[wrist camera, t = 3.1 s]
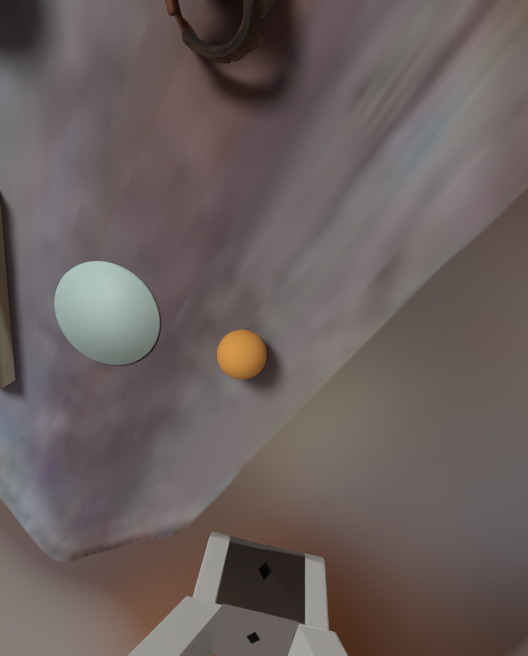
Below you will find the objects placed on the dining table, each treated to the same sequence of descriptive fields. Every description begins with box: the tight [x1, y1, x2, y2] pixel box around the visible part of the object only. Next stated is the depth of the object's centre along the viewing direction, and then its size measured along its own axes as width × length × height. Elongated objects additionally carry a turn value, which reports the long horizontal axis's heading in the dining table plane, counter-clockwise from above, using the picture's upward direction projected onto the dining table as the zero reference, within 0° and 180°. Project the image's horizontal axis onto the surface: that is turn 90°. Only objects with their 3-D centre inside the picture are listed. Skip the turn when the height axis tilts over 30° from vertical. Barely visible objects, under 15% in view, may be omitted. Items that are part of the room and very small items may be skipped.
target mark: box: [54, 261, 160, 365], centre depth 42 cm, size 13×13×1 cm
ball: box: [217, 330, 267, 379], centre depth 39 cm, size 6×6×6 cm
